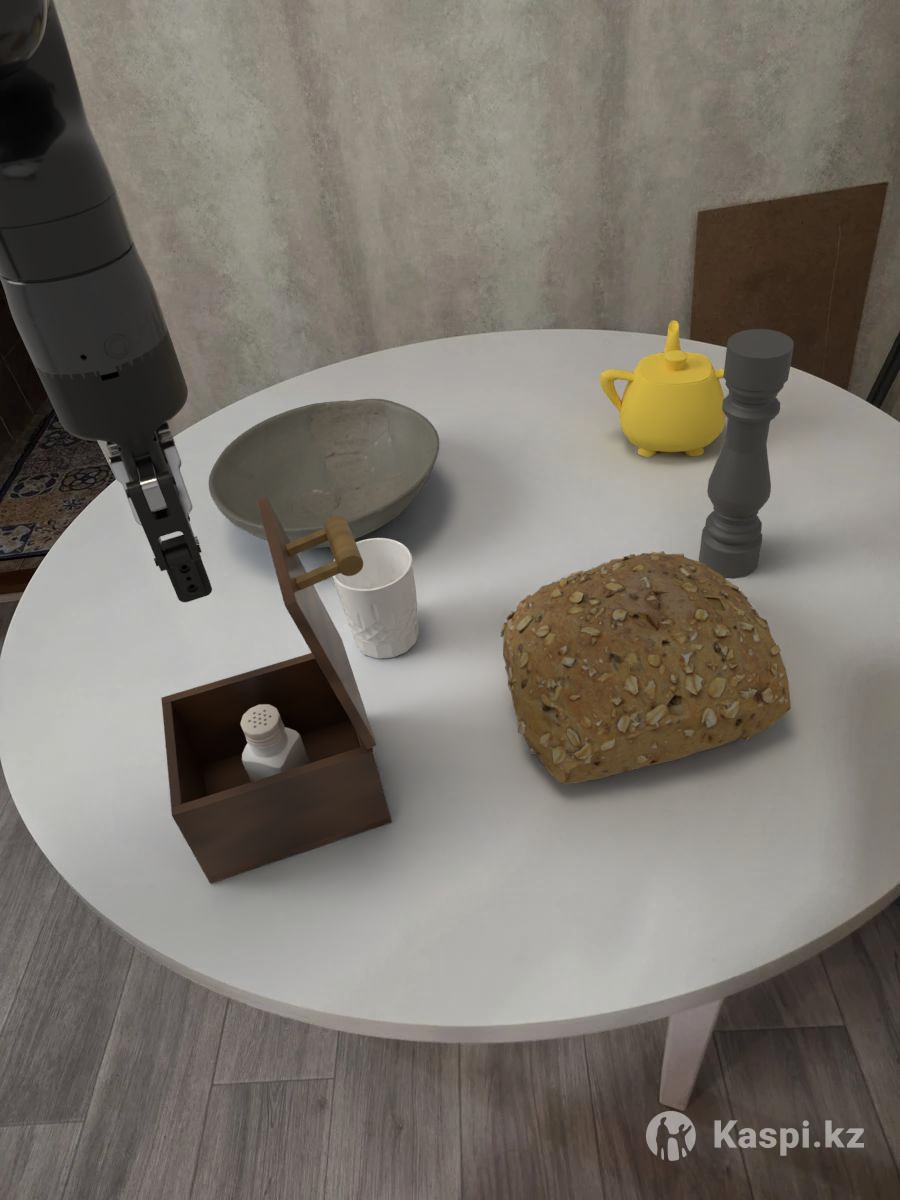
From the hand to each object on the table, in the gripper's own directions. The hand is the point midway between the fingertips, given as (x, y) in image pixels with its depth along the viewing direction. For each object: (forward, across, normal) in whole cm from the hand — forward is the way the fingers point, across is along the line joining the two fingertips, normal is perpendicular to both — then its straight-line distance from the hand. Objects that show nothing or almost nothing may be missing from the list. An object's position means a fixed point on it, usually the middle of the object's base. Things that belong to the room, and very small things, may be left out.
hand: (185, 559), depth 59 cm
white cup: (+27, -14, +15) cm, 34 cm away
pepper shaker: (+26, +1, +1) cm, 26 cm away
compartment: (+27, +1, +1) cm, 27 cm away
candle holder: (+26, -7, +52) cm, 59 cm away
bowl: (+27, -38, +17) cm, 49 cm away
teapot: (+26, -32, +61) cm, 74 cm away
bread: (+27, +4, +34) cm, 43 cm away
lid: (+8, +1, +7) cm, 11 cm away
